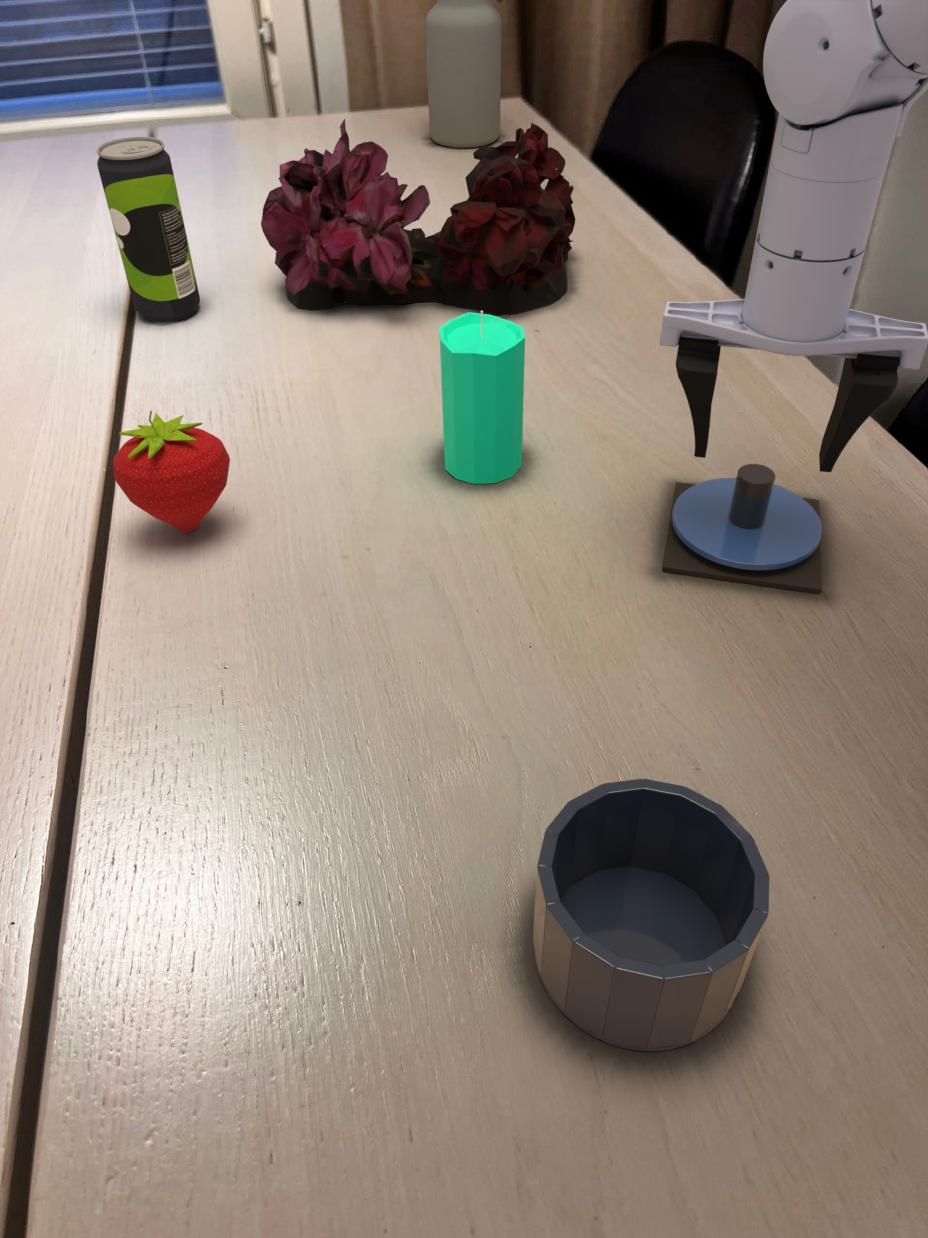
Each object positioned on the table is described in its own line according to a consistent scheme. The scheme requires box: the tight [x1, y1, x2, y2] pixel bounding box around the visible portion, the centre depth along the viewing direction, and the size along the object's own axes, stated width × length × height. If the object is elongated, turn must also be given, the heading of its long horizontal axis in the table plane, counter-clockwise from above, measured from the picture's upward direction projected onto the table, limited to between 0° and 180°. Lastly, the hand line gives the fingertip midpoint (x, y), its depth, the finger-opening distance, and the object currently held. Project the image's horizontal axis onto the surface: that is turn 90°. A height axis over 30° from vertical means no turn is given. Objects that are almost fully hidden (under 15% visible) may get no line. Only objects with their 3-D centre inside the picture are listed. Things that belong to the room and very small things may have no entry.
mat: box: [661, 481, 823, 595], centre depth 65 cm, size 10×10×1 cm
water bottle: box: [425, 0, 504, 149], centre depth 122 cm, size 10×10×28 cm
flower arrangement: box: [260, 118, 576, 316], centre depth 91 cm, size 31×20×15 cm, turn 99°
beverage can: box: [96, 136, 201, 324], centre depth 88 cm, size 6×6×15 cm
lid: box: [671, 463, 823, 570], centre depth 63 cm, size 10×10×5 cm
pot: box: [532, 778, 770, 1052], centre depth 41 cm, size 9×9×6 cm
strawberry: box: [112, 410, 231, 533], centre depth 63 cm, size 6×8×10 cm
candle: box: [439, 311, 526, 485], centre depth 68 cm, size 6×6×12 cm
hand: (762, 456), depth 61 cm, fingers open, 7 cm apart
